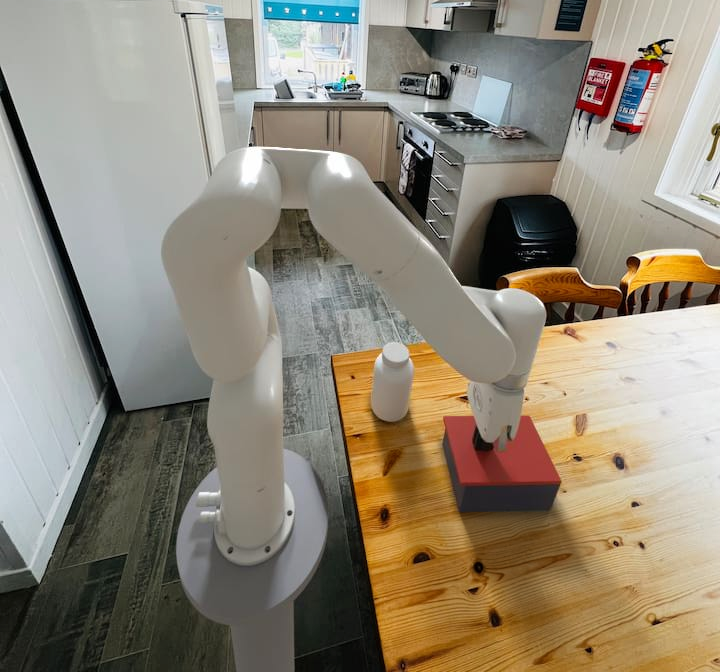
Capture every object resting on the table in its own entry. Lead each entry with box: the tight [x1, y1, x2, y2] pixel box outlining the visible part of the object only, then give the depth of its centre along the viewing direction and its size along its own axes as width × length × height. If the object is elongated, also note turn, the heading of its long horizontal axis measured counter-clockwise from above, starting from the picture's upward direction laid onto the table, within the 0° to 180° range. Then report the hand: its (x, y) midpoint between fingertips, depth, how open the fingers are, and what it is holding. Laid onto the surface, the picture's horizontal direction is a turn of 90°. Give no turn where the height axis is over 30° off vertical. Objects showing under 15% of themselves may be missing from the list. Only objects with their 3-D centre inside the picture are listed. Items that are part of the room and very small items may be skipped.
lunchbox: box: [442, 428, 561, 513], centre depth 69 cm, size 16×12×7 cm
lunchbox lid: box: [442, 415, 562, 486], centre depth 68 cm, size 16×12×1 cm
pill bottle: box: [370, 341, 415, 423], centre depth 80 cm, size 8×8×15 cm
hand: (482, 445), depth 67 cm, fingers closed
